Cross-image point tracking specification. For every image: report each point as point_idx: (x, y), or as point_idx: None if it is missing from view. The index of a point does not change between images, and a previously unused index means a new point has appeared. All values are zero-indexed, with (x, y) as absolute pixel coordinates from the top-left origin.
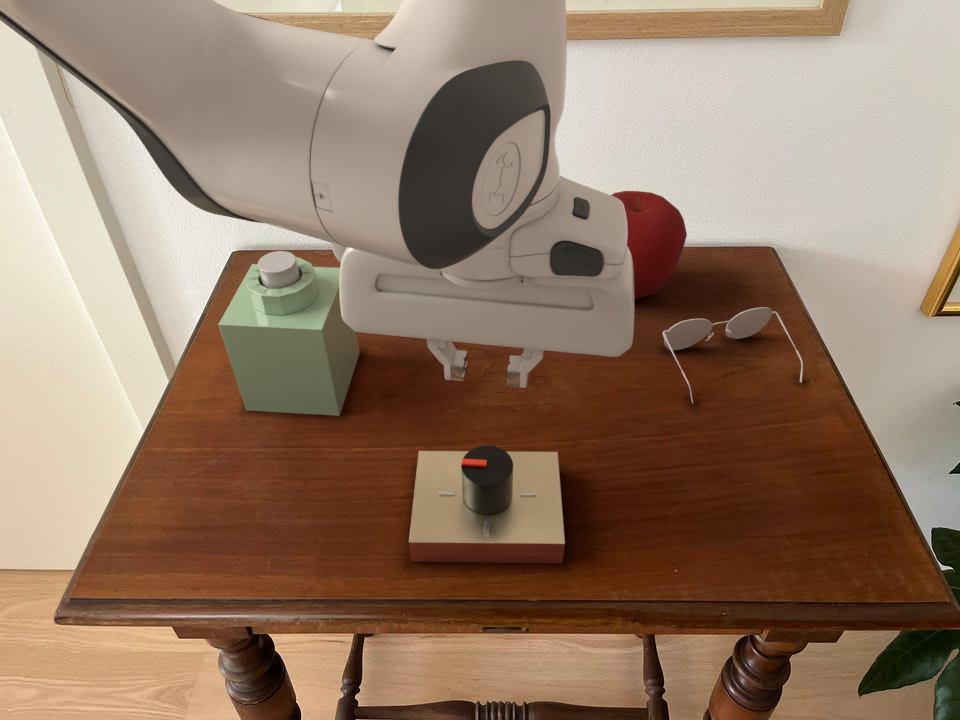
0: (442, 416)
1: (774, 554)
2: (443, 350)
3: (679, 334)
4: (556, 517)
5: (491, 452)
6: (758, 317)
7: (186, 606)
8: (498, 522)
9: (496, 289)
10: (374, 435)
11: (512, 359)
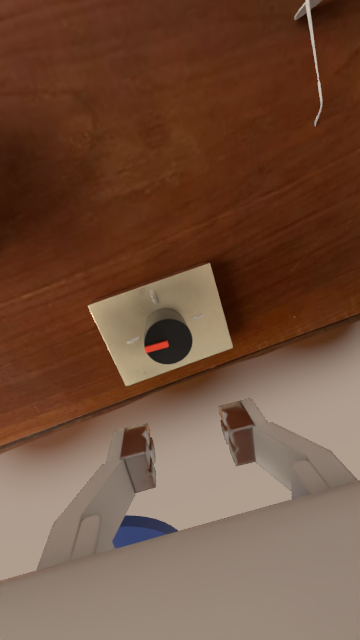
0: (79, 228)
1: (355, 282)
2: (111, 531)
3: None
4: (223, 329)
5: (167, 328)
6: None
7: (9, 447)
8: None
9: None
10: (30, 275)
11: (238, 439)
